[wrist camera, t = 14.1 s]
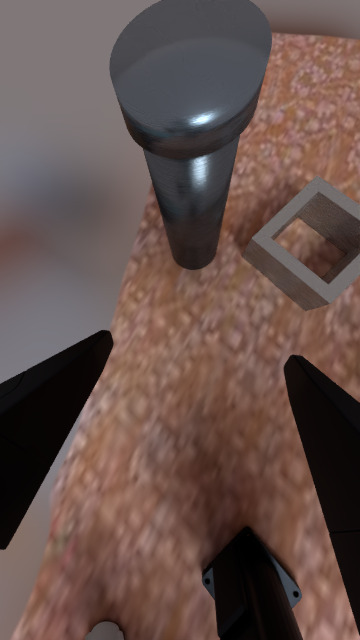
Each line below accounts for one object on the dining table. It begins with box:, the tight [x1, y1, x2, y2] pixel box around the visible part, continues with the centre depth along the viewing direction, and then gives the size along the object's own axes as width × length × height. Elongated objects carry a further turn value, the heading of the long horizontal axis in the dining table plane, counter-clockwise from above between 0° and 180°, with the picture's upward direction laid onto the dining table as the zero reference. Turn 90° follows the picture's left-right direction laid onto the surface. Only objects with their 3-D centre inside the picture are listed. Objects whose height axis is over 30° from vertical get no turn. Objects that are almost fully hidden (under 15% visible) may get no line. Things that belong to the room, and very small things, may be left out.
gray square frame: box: [242, 176, 360, 311], centre depth 18 cm, size 10×10×4 cm
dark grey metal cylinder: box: [110, 0, 272, 270], centre depth 14 cm, size 7×7×14 cm
